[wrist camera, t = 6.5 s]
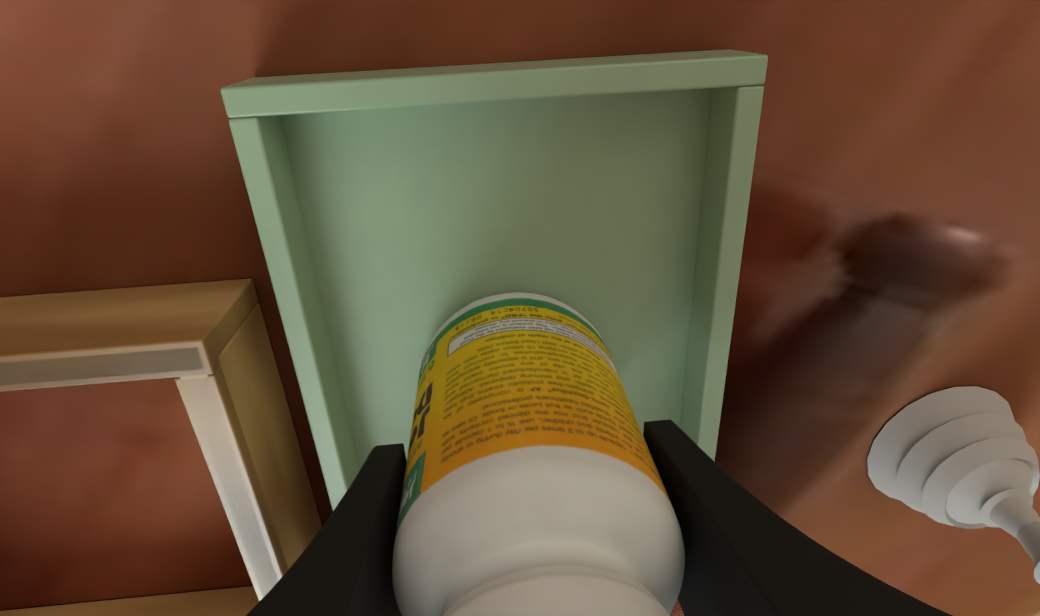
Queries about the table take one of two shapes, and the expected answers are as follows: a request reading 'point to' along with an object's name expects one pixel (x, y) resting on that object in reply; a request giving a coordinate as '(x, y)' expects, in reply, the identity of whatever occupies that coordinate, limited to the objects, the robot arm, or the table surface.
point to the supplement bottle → (530, 475)
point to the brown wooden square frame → (208, 402)
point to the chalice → (961, 464)
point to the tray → (501, 222)
